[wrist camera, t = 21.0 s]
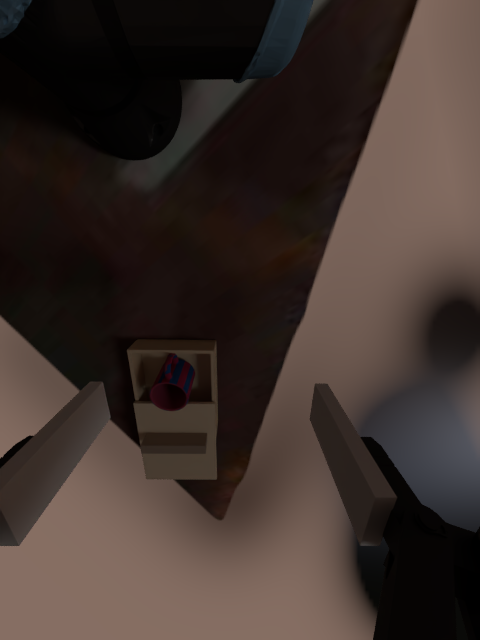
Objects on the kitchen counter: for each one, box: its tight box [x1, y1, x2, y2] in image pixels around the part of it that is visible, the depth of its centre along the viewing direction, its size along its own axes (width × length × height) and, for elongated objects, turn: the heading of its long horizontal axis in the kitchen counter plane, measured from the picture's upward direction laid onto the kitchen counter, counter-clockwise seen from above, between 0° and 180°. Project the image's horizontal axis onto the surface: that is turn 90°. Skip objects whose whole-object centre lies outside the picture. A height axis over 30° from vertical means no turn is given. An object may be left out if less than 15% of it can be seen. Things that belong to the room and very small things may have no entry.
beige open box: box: [127, 339, 218, 434], centre depth 45 cm, size 20×15×4 cm
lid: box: [133, 401, 217, 479], centre depth 45 cm, size 20×15×4 cm
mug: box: [149, 353, 195, 411], centre depth 42 cm, size 7×10×7 cm
